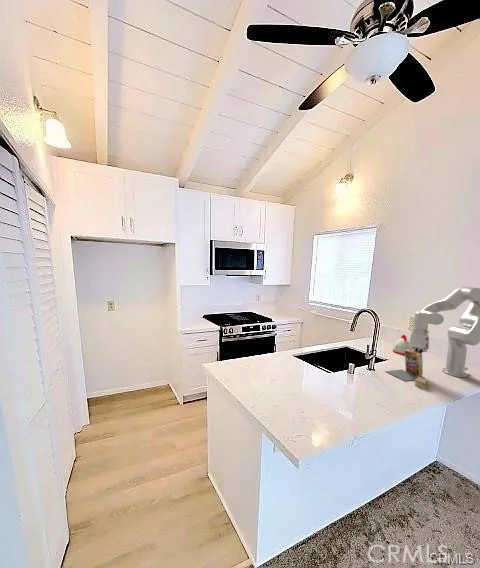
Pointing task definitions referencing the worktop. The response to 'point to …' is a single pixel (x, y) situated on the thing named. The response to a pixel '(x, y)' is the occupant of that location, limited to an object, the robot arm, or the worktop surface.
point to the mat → (402, 375)
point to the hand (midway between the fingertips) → (417, 358)
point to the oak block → (421, 382)
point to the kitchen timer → (401, 345)
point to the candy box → (413, 362)
